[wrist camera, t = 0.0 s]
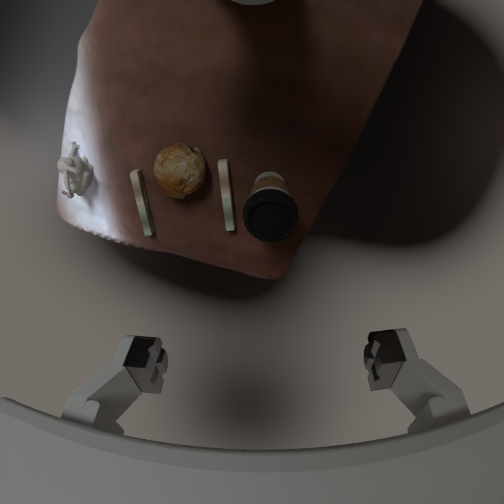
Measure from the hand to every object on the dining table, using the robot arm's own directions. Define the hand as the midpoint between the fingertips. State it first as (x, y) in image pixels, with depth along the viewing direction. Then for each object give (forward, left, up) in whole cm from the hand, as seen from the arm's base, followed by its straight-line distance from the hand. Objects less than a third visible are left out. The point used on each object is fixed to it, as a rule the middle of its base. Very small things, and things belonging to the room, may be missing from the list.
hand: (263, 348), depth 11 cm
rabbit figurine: (+3, -38, -47) cm, 61 cm away
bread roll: (+8, -17, -48) cm, 51 cm away
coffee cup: (+11, 0, -47) cm, 49 cm away
